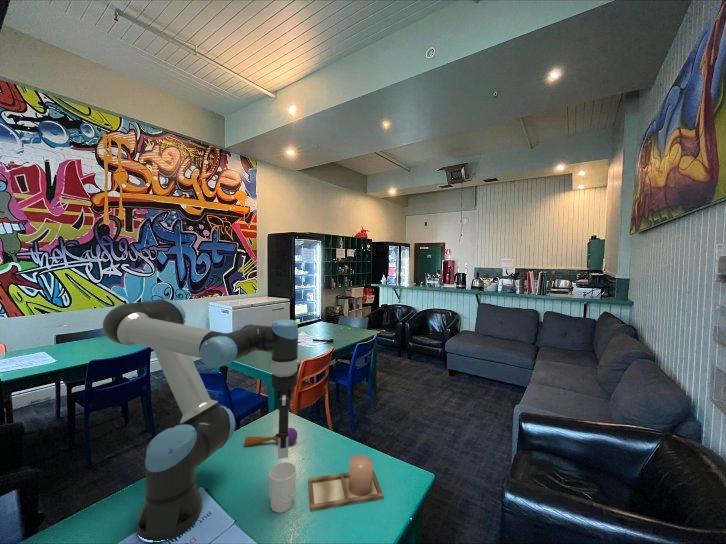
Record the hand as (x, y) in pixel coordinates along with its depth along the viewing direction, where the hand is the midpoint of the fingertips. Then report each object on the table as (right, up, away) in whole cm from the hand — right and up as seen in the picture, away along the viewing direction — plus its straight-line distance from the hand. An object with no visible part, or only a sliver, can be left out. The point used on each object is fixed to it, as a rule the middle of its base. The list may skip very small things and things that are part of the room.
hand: (283, 443), depth 88 cm
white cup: (-1, -19, 0) cm, 19 cm away
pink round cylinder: (+23, -18, +6) cm, 29 cm away
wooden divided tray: (+18, -19, +5) cm, 26 cm away
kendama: (-13, -18, +29) cm, 37 cm away
